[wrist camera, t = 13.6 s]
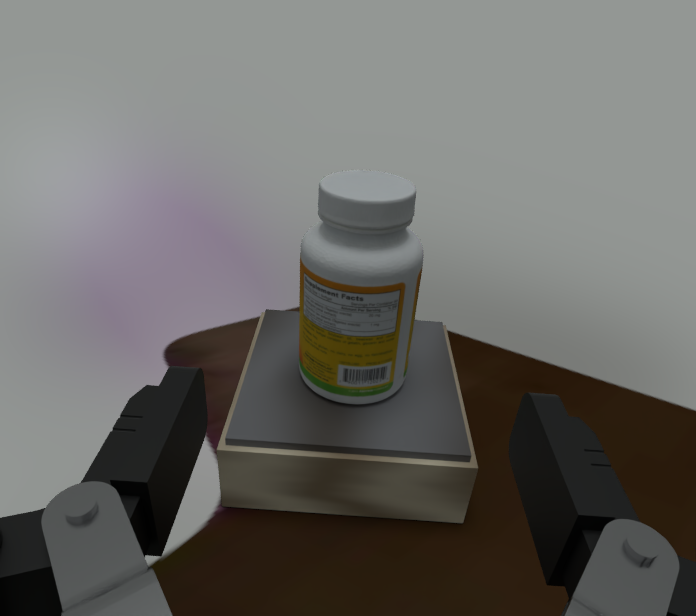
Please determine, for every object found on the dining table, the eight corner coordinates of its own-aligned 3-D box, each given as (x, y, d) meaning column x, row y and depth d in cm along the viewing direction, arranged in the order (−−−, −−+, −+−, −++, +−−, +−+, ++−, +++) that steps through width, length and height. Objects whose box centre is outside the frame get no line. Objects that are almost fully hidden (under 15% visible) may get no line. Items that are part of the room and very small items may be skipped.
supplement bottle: (345, 329, 30) (357, 157, 25) (426, 370, 27) (458, 185, 22) (276, 372, 26) (273, 180, 21) (361, 425, 23) (381, 218, 18)
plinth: (436, 372, 34) (446, 319, 31) (462, 523, 24) (480, 461, 22) (263, 360, 33) (261, 306, 31) (222, 506, 24) (216, 443, 22)
